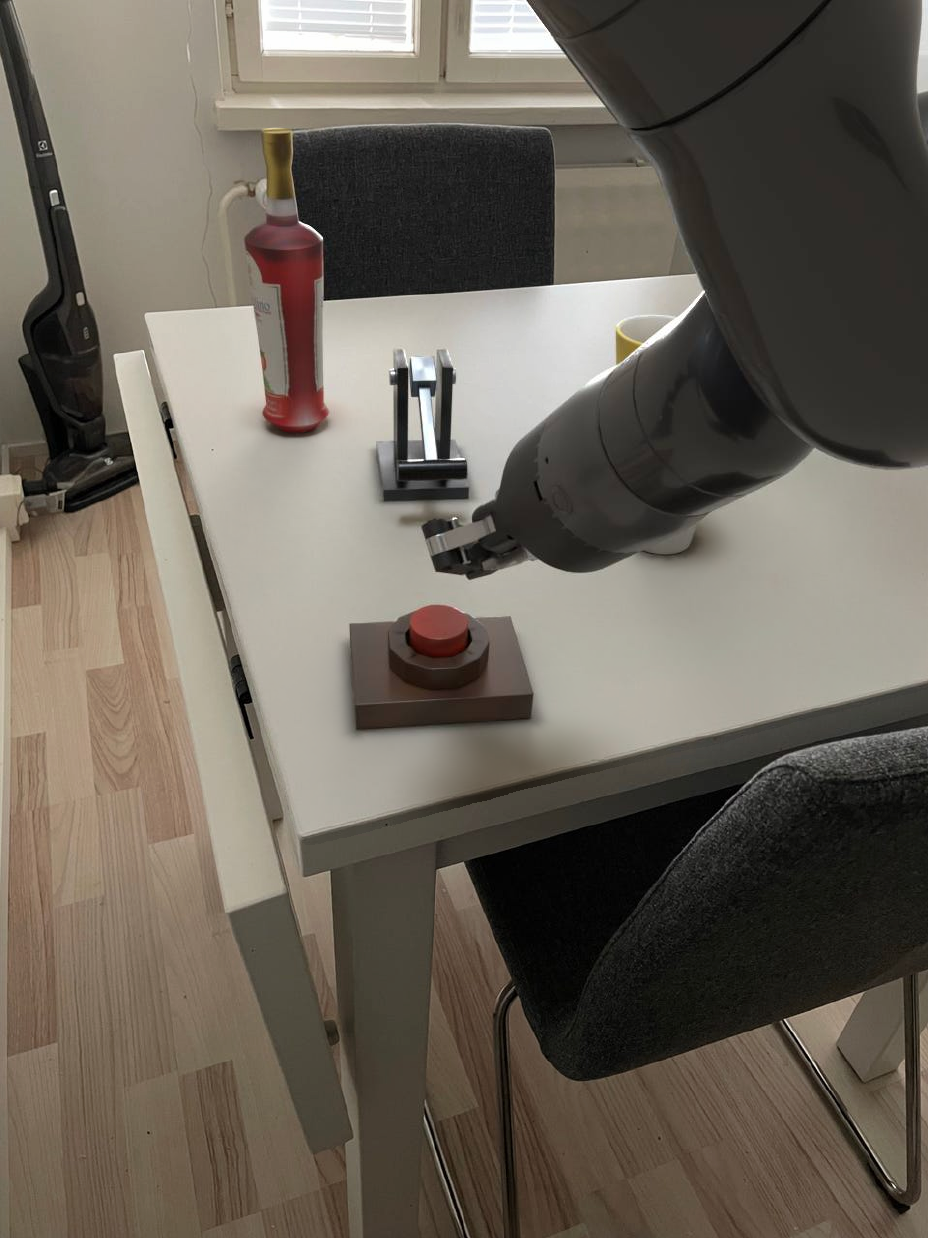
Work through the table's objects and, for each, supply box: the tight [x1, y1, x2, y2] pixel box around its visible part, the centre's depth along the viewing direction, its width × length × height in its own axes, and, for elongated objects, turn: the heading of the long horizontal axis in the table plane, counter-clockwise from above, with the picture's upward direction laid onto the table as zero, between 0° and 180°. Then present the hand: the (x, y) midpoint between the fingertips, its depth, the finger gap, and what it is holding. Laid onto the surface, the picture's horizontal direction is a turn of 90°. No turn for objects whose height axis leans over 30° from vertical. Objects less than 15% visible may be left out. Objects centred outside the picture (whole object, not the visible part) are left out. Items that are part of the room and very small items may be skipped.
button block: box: [348, 609, 535, 730], centre depth 67 cm, size 12×9×4 cm
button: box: [410, 604, 468, 658], centre depth 66 cm, size 4×4×2 cm
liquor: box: [243, 127, 330, 434], centre depth 93 cm, size 7×7×28 cm
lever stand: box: [376, 348, 470, 502], centre depth 90 cm, size 10×8×12 cm
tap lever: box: [397, 355, 468, 481], centre depth 85 cm, size 12×6×2 cm, turn 8°
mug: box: [615, 314, 679, 366], centre depth 101 cm, size 14×10×10 cm
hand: (472, 561), depth 58 cm, fingers closed
